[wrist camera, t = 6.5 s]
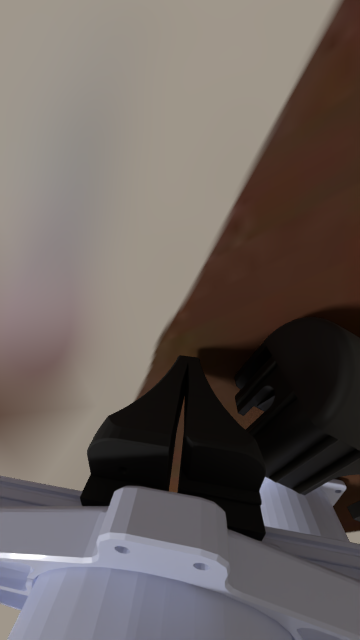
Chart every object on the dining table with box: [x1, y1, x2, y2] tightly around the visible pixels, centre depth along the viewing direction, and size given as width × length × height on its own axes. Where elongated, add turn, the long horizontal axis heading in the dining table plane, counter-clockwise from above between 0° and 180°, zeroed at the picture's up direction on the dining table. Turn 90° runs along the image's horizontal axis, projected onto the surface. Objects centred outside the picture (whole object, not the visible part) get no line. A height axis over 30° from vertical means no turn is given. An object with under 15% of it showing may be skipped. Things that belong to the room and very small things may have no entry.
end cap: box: [235, 317, 360, 522], centre depth 10 cm, size 10×7×7 cm
